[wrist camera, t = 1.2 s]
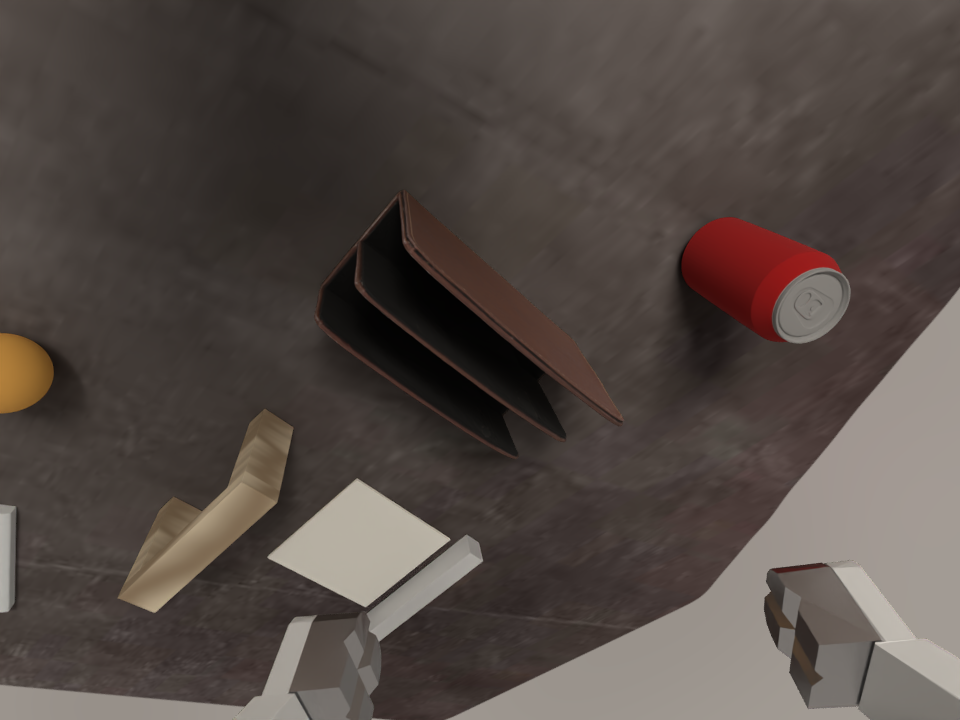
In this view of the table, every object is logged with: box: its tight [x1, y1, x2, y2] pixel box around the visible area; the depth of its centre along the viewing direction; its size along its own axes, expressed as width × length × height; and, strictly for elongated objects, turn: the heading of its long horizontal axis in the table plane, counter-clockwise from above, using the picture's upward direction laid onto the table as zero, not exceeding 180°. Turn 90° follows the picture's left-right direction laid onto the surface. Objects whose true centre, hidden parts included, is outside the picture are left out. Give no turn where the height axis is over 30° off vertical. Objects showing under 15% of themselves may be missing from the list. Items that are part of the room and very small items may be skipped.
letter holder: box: [314, 190, 624, 459], centre depth 38 cm, size 10×20×14 cm, turn 46°
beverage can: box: [681, 217, 850, 343], centre depth 40 cm, size 7×7×12 cm
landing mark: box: [267, 478, 450, 607], centre depth 55 cm, size 13×13×1 cm
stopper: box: [367, 534, 483, 641], centre depth 57 cm, size 2×16×2 cm, turn 132°
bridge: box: [118, 409, 294, 613], centre depth 43 cm, size 3×15×9 cm, turn 131°
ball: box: [0, 333, 54, 413], centre depth 37 cm, size 6×6×6 cm
